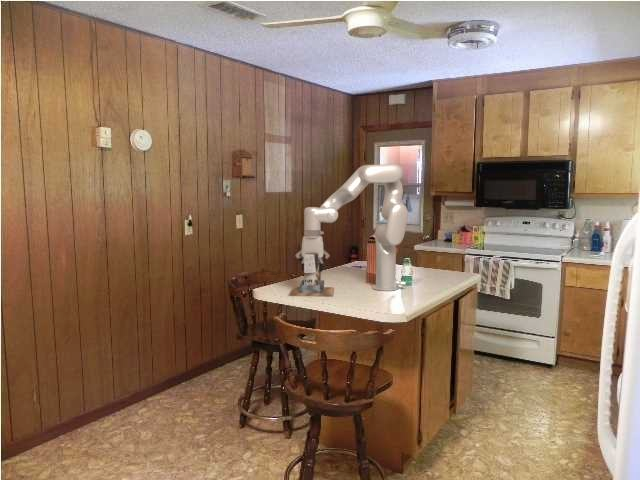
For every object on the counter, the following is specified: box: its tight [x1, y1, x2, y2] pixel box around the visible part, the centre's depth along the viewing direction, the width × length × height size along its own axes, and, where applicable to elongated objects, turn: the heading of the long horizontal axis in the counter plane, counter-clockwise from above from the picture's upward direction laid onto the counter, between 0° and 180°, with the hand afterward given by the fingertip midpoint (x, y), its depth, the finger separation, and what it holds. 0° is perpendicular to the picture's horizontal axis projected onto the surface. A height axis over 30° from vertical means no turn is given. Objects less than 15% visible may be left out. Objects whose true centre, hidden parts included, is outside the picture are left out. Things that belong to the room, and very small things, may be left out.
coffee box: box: [303, 253, 322, 285], centre depth 230 cm, size 9×6×16 cm
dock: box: [288, 279, 335, 298], centre depth 231 cm, size 20×15×5 cm
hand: (312, 271), depth 230 cm, fingers closed on coffee box, 6 cm apart
